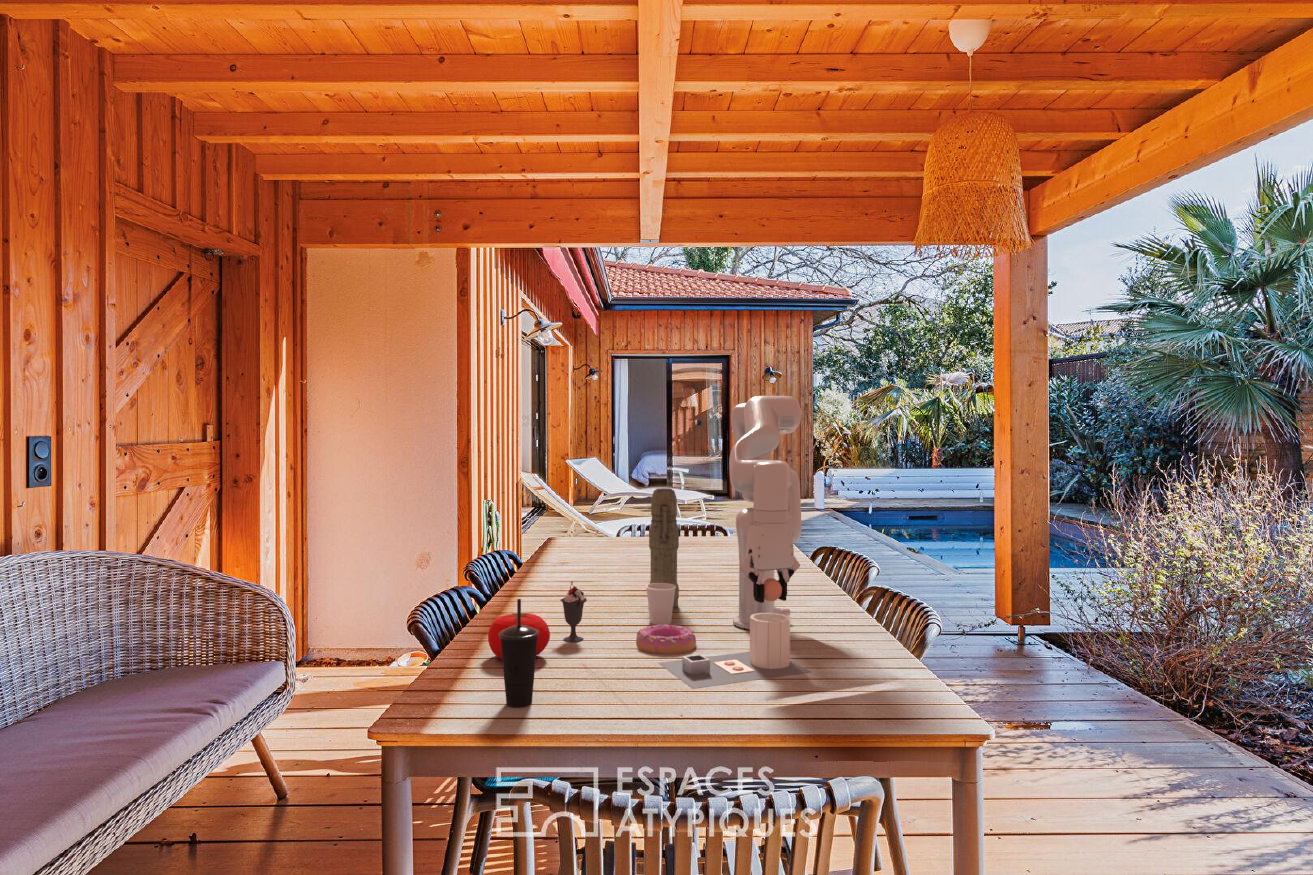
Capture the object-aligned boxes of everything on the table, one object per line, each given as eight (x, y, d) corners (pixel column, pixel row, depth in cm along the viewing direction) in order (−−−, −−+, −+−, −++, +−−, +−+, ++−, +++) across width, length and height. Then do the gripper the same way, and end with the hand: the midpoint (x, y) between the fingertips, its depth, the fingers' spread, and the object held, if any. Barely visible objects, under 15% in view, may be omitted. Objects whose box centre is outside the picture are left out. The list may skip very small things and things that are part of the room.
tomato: (475, 662, 173) (475, 616, 172) (506, 647, 184) (506, 604, 184) (530, 669, 167) (530, 622, 167) (559, 653, 179) (559, 609, 179)
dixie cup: (663, 627, 203) (664, 590, 203) (639, 622, 208) (639, 586, 208) (682, 621, 210) (682, 585, 210) (657, 616, 215) (657, 581, 215)
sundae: (565, 644, 187) (565, 583, 187) (556, 638, 193) (556, 578, 192) (590, 641, 190) (590, 581, 190) (580, 634, 196) (580, 576, 196)
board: (768, 654, 179) (768, 647, 179) (812, 677, 162) (812, 670, 162) (658, 668, 169) (658, 661, 168) (692, 694, 152) (692, 686, 152)
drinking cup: (501, 696, 150) (501, 595, 150) (540, 695, 151) (540, 594, 151) (496, 710, 143) (496, 604, 142) (537, 709, 143) (537, 603, 143)
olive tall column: (674, 601, 234) (675, 487, 234) (681, 610, 222) (682, 490, 222) (646, 602, 233) (646, 487, 232) (651, 611, 221) (652, 490, 221)
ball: (774, 597, 172) (774, 575, 172) (786, 602, 167) (786, 579, 167) (754, 599, 170) (754, 577, 170) (766, 604, 165) (766, 581, 165)
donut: (652, 640, 192) (652, 620, 192) (705, 647, 186) (705, 626, 186) (625, 655, 179) (625, 633, 179) (680, 663, 173) (680, 641, 173)
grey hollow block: (700, 667, 165) (701, 654, 165) (710, 673, 161) (710, 659, 161) (682, 670, 163) (682, 656, 163) (691, 676, 159) (691, 662, 159)
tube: (776, 654, 175) (776, 611, 175) (797, 666, 166) (797, 620, 166) (742, 659, 171) (743, 614, 171) (763, 670, 163) (763, 624, 163)
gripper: (794, 515, 175) (794, 594, 175) (728, 517, 169) (728, 600, 169) (812, 518, 168) (812, 600, 168) (744, 521, 162) (744, 607, 162)
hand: (770, 599), depth 168 cm, fingers closed on ball, 4 cm apart
